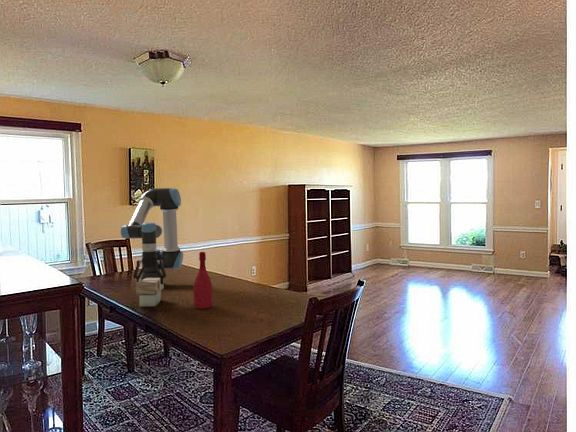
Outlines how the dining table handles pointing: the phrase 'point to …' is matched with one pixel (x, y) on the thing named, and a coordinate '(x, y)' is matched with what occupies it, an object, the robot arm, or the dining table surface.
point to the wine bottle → (202, 286)
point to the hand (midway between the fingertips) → (150, 290)
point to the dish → (150, 299)
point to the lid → (148, 286)
